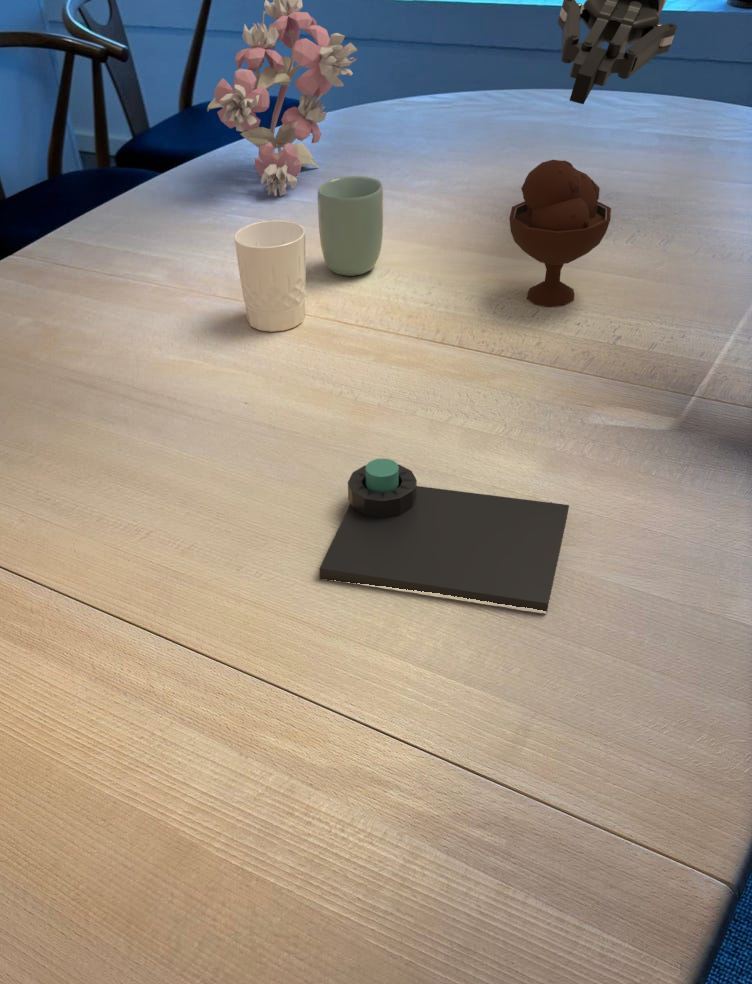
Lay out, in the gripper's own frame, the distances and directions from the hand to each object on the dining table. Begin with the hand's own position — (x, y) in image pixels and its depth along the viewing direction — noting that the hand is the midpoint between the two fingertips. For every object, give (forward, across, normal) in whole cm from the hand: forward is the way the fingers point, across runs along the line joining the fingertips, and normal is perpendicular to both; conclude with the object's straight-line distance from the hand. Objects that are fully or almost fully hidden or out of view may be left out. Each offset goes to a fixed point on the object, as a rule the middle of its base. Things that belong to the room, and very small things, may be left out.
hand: (580, 88), depth 99 cm
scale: (+52, -6, -13) cm, 54 cm away
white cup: (+17, +24, -25) cm, 39 cm away
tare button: (+48, +1, -13) cm, 50 cm away
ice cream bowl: (+3, -4, -21) cm, 22 cm away
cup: (+2, +21, -27) cm, 34 cm away
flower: (-25, +42, -35) cm, 60 cm away
